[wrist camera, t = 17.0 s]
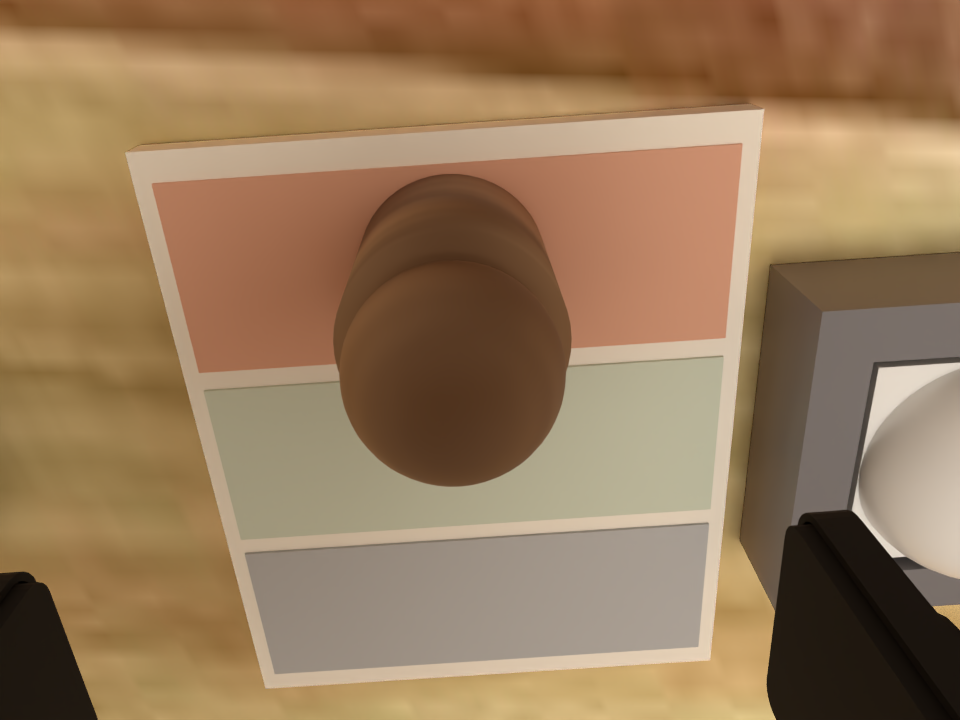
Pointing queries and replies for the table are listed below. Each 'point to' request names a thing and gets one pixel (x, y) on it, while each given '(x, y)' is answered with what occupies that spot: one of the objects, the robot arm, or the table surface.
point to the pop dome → (912, 462)
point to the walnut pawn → (452, 333)
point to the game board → (530, 486)
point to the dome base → (836, 388)
